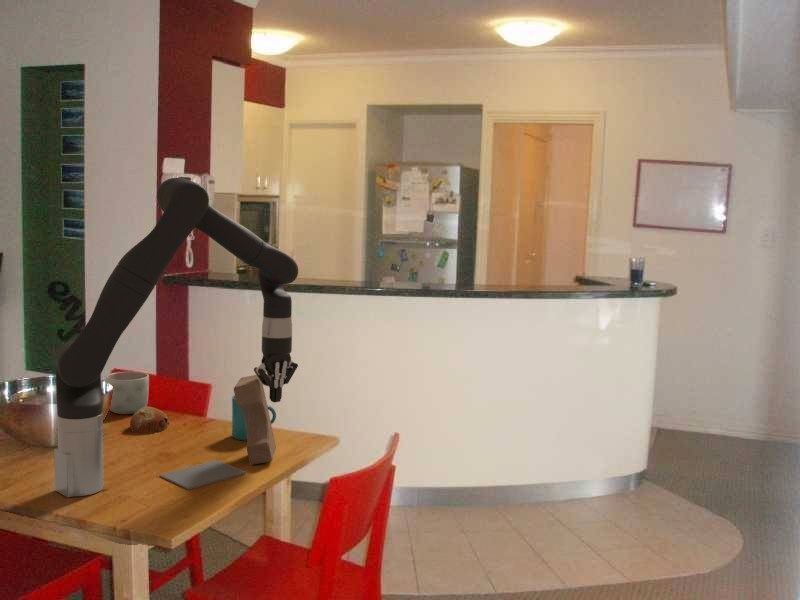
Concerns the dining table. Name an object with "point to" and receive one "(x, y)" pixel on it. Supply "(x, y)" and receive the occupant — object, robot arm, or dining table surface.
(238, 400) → the decorative block
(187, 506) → the dining table surface
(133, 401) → the planter
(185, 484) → the mat
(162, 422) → the bread roll
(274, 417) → the cup
